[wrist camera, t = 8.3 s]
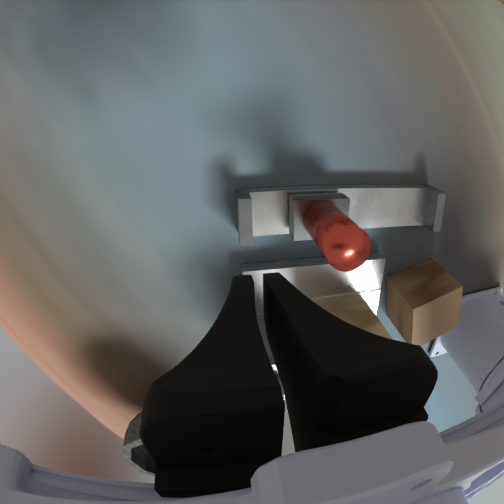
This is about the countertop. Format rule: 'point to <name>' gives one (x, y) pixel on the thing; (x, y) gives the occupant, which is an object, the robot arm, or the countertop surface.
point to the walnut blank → (423, 301)
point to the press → (319, 285)
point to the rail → (360, 211)
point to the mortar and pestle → (137, 449)
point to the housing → (359, 317)
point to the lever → (329, 228)
